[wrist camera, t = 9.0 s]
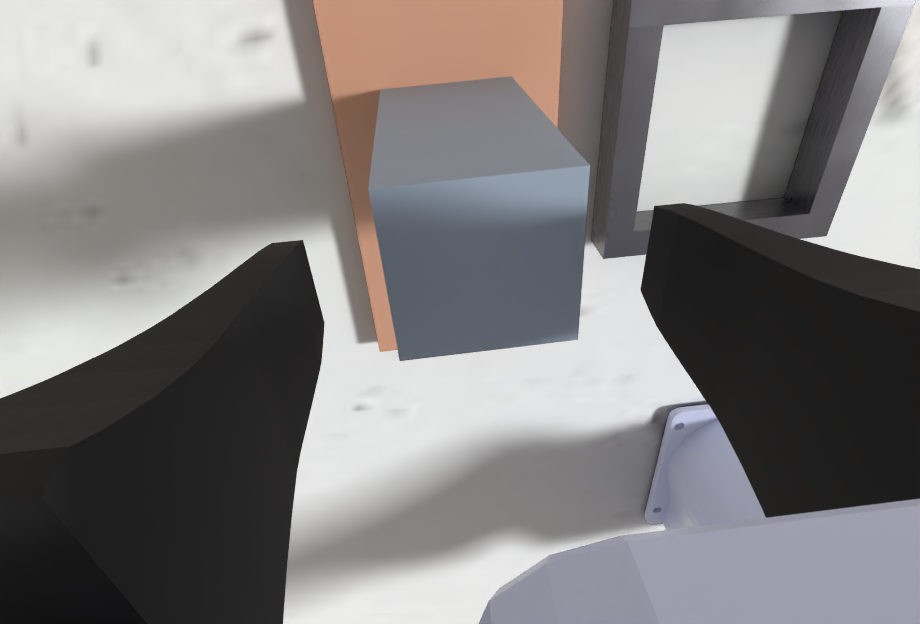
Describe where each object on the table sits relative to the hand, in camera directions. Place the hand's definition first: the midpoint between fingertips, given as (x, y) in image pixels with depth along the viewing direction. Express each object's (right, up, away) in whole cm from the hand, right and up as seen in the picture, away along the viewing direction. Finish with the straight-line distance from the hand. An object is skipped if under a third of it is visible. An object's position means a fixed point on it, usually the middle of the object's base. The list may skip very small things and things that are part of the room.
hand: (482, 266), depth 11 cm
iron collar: (+9, +6, +7) cm, 13 cm away
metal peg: (-1, +4, +6) cm, 8 cm away
